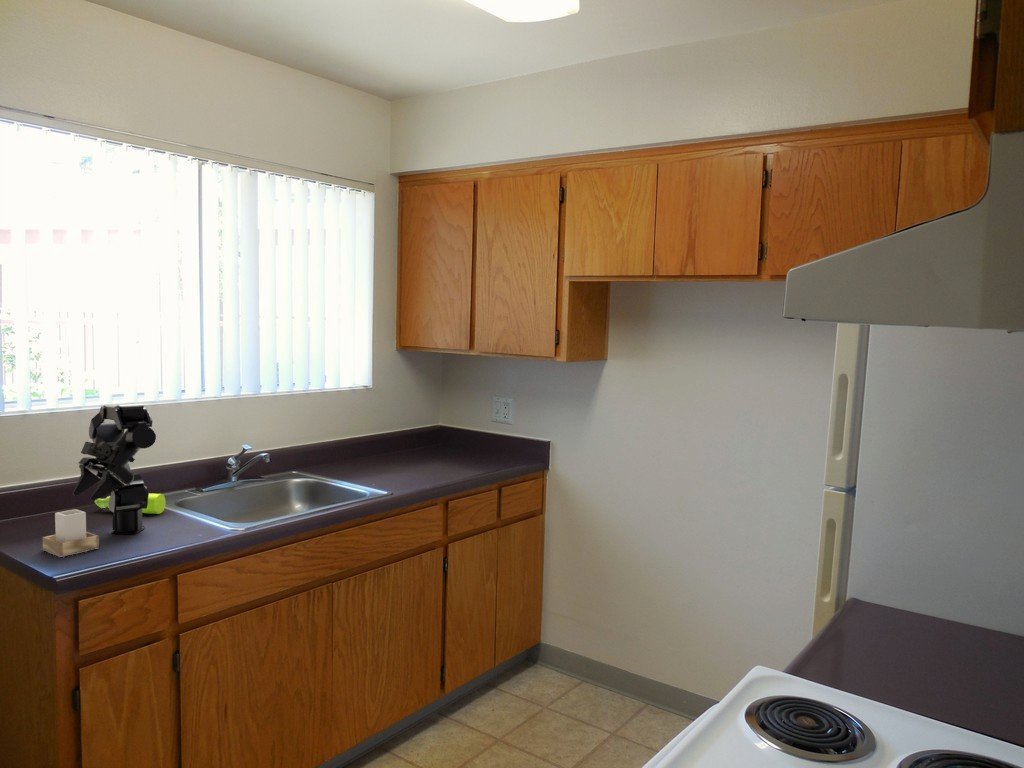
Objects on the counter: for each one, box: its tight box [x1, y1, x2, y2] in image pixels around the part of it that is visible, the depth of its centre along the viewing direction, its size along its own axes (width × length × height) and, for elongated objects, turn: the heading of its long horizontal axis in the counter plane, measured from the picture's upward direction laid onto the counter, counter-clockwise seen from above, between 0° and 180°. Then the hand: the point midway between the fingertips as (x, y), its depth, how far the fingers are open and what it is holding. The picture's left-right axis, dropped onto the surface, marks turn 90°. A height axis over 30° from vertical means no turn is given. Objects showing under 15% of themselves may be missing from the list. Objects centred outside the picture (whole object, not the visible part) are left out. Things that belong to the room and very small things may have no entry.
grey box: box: [54, 508, 87, 543], centre depth 189 cm, size 5×5×9 cm
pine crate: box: [42, 530, 100, 556], centre depth 190 cm, size 9×9×4 cm
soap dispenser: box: [94, 493, 167, 515], centre depth 228 cm, size 6×7×20 cm
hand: (82, 497), depth 191 cm, fingers open, 9 cm apart
